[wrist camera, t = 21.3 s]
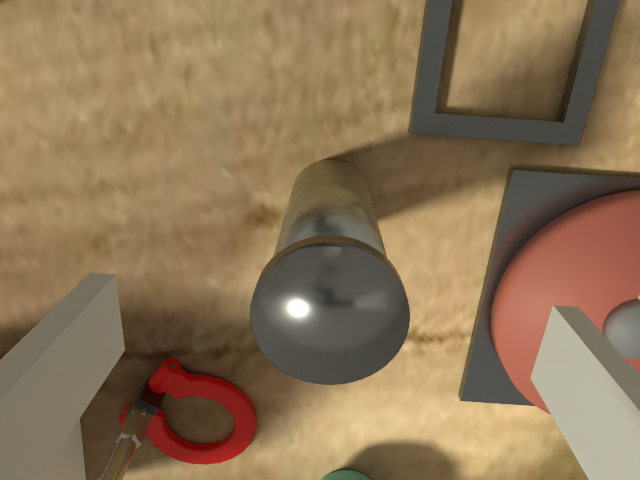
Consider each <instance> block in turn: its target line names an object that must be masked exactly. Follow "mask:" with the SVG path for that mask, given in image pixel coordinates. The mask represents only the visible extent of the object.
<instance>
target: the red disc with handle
mask: <svg viewBox="0 0 640 480" xmlns="http://www.w3.org/2000/svg"><path fill="white" fill-rule="evenodd" d="M553 305H556V306H571V307H579V308H580V309H581V310H582V311H583V313H584V314H585V315H586V316H587V317H588V318H589V319H590V320H591V321H592V322H593V324H594V325H595V326H596V327H597V328H598V329H599V330H600V331H601V332H602V333H603V335H604V336H605V337H606V338H607V339H608V340H609V341H610V342H611V343H612V344H613V346H614V347H615V348H616V349H617V350H618V351H619V352H620V353H621V354H622V356H623V357H624V358H625V359H626V360H627V361H628V362H629V363H630V364H631V365H632V367H633V368H634V369H635V370H636V371H637V372H638V373H639V374H640V190H637V191H626V192H621V193H616V194H611V195H607V196H604V197H601V198H597V199H594V200H591V201H589V202H586V203H584V204H582V205H580V206H577V207H575V208H573V209H571V210H569V211H568V212H566V213H564V214H562V215H560V216H559V217H557V218H556V219H554V220H553V221H551V222H550V223H549V224H547V225H546V226H544V227H543V228H542V229H541V230H539V231H538V232H537V233H536V234H535V235H534V236H533V237H532V238H531V239H529V240H528V241H527V243H526V244H525V245H524V246H523V247H522V248H521V249H520V250H519V252H518V253H517V254H516V255H515V257H514V258H513V260H512V261H511V263H510V264H509V265H508V267H507V269H506V271H505V272H504V274H503V276H502V278H501V280H500V282H499V285H498V288H497V290H496V293H495V296H494V300H493V305H492V310H491V333H492V339H493V343H494V347H495V350H496V352H497V354H498V356H499V359H500V361H501V363H502V365H503V366H504V368H505V370H506V372H507V374H508V376H509V377H510V379H511V380H512V382H513V383H514V385H515V387H516V388H517V389H518V390H519V391H520V392H521V394H522V395H523V396H524V397H525V398H526V399H528V400H529V401H530V402H531V403H533V404H534V405H535V406H537V407H538V408H540V409H542V410H543V411H545V412H547V413H549V414H551V413H550V412H549V410H548V408H547V406H546V405H545V403H544V401H543V399H542V398H541V396H540V394H539V392H538V391H537V389H536V387H535V386H534V384H533V382H532V380H531V379H530V378H531V375H532V371H533V368H534V365H535V362H536V359H537V355H538V352H539V349H540V346H541V342H542V339H543V336H544V333H545V330H546V326H547V323H548V320H549V317H550V313H551V310H552V307H553Z"/></svg>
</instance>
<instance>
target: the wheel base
mask: <svg viewBox="0 0 640 480" xmlns="http://www.w3.org/2000/svg"><path fill="white" fill-rule="evenodd" d="M637 190H640V177H633V176H619V175H605V174H591V173H577V172H562V171H548V170H534V169H520V168H509V173H508V177H507V182H506V186H505V191H504V195H503V199H502V204H501V208H500V213H499V217H498V222H497V226H496V231H495V235H494V239H493V244H492V248H491V253H490V257H489V262H488V266H487V271H486V275H485V279H484V284H483V288H482V293H481V297H480V302H479V306H478V311H477V315H476V319H475V324H474V328H473V333H472V337H471V342H470V346H469V350H468V355H467V359H466V364H465V368H464V373H463V377H462V382H461V386H460V390H459V398H460V401H471V402H485V403H500V404H514V405H529V406H535V405H534V404H533V403H531V402H530V401H529V400H528V399H526V398H525V397H524V396H523V395H522V394H521V392H520V391H519V390H518V389H517V388H516V387H515V385H514V383H513V382H512V380H511V379H510V377H509V376H508V374H507V372H506V370H505V368H504V366H503V365H502V363H501V361H500V359H499V356H498V354H497V352H496V350H495V347H494V343H493V339H492V333H491V310H492V305H493V300H494V296H495V293H496V290H497V288H498V285H499V282H500V280H501V278H502V276H503V274H504V272H505V271H506V269H507V267H508V265H509V264H510V263H511V261H512V260H513V258H514V257H515V255H516V254H517V253H518V252H519V250H520V249H521V248H522V247H523V246H524V245H525V244H526V243H527V241H528V240H529V239H531V238H532V237H533V236H534V235H535V234H536V233H537V232H538V231H539V230H541V229H542V228H543V227H544V226H546V225H547V224H549V223H550V222H551V221H553V220H554V219H556V218H557V217H559V216H560V215H562V214H564V213H566V212H568V211H569V210H571V209H573V208H575V207H577V206H580V205H582V204H584V203H586V202H589V201H591V200H594V199H597V198H601V197H604V196H607V195H611V194H616V193H621V192H626V191H637Z"/></svg>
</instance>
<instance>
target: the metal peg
mask: <svg viewBox="0 0 640 480" xmlns="http://www.w3.org/2000/svg"><path fill="white" fill-rule="evenodd" d="M409 322H410V310H409V304H408V299H407V296H406V293H405V289H404V286H403V283H402V281H401V278H400V276H399V274H398V272H397V270H396V269H395V267H394V266H393V265H392V263H391V262H390V261H389V260H388V259H387V256H386V252H385V248H384V245H383V241H382V237H381V233H380V230H379V226H378V222H377V218H376V215H375V211H374V207H373V203H372V200H371V196H370V192H369V188H368V185H367V182H366V180H365V178H364V177H363V175H362V174H361V173H360V172H359V171H358V170H357V169H356V168H355V167H353V166H352V165H350V164H348V163H346V162H344V161H340V160H334V159H327V160H321V161H318V162H315V163H313V164H311V165H309V166H308V167H306V168H305V169H304V170H303V171H302V172H301V173H300V174H299V176H298V177H297V179H296V180H295V183H294V185H293V189H292V192H291V196H290V199H289V203H288V207H287V210H286V214H285V217H284V221H283V224H282V228H281V231H280V235H279V239H278V242H277V246H276V249H275V253H274V256H273V258H272V259H271V260H270V261H269V263H268V264H267V265H266V266H265V268H264V270H263V271H262V273H261V275H260V277H259V280H258V282H257V285H256V288H255V291H254V294H253V298H252V302H251V307H250V324H251V329H252V333H253V336H254V338H255V341H256V343H257V345H258V346H259V348H260V350H261V351H262V352H263V354H264V355H265V356H266V357H267V358H268V360H269V361H270V362H271V363H273V364H274V365H275V366H276V367H277V368H279V369H280V370H282V371H283V372H285V373H287V374H288V375H291V376H293V377H295V378H297V379H300V380H303V381H306V382H311V383H316V384H324V385H336V384H345V383H350V382H354V381H358V380H361V379H363V378H366V377H368V376H370V375H372V374H374V373H376V372H377V371H379V370H380V369H382V368H383V367H384V366H386V365H387V364H388V363H389V362H390V361H391V360H392V359H393V358H394V357H395V355H396V354H397V353H398V352H399V350H400V348H401V347H402V345H403V343H404V341H405V338H406V336H407V333H408V329H409Z"/></svg>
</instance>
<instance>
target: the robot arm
mask: <svg viewBox="0 0 640 480" xmlns="http://www.w3.org/2000/svg"><path fill="white" fill-rule="evenodd" d="M124 351H125V346H124V338H123V330H122V322H121V314H120V306H119V298H118V290H117V282H116V275H114V274H100V273H89V274H88V275H87V276H86V277H85V278H84V279H83V280H82V281H81V282H80V283H79V284H78V285H77V286H76V287H75V288H74V289H73V290H72V291H71V292H70V293H69V294H68V295H67V296H66V297H65V298H64V299H62V300H61V301H60V302H59V303H58V304H57V305H56V306H55V307H54V308H53V309H52V310H51V311H50V312H49V313H48V314H47V315H46V316H45V317H44V318H43V319H42V320H41V321H40V322H39V323H38V324H37V325H36V326H35V327H34V328H33V329H32V330H31V331H30V332H29V333H28V334H26V335H25V336H24V337H23V338H22V339H21V340H20V341H19V342H18V343H17V344H16V345H15V346H14V347H13V348H12V349H11V350H10V351H9V352H8V353H7V354H6V355H5V356H4V357H3V358H2V359H1V360H0V480H39V479H40V478H41V476H42V475H43V473H44V472H45V470H46V469H47V467H48V466H49V464H50V463H51V461H52V460H53V458H54V456H55V455H56V453H57V452H58V450H59V449H60V447H61V446H62V444H63V443H64V441H65V440H66V438H67V437H68V435H69V434H70V432H71V431H72V429H73V428H74V426H75V425H76V423H77V422H78V420H79V419H80V417H81V416H82V414H83V413H84V411H85V410H86V408H87V407H88V405H89V404H90V402H91V401H92V399H93V398H94V396H95V395H96V393H97V392H98V390H99V389H100V387H101V386H102V384H103V383H104V381H105V380H106V378H107V377H108V375H109V374H110V372H111V371H112V369H113V368H114V366H115V364H116V363H117V361H118V360H119V358H120V357H121V355H122V354H123V352H124ZM530 379H531V380H532V382H533V384H534V386H535V387H536V389H537V391H538V392H539V394H540V396H541V398H542V399H543V401H544V403H545V405H546V406H547V408H548V410H549V412H550V413H551V415H552V417H553V418H554V420H555V422H556V424H557V425H558V427H559V429H560V431H561V432H562V434H563V436H564V438H565V439H566V441H567V443H568V444H569V446H570V448H571V450H572V451H573V453H574V455H575V457H576V458H577V460H578V462H579V463H580V465H581V467H582V469H583V470H584V472H585V474H586V476H587V477H588V479H589V480H640V374H639V373H638V372H637V371H636V370H635V369H634V368H633V367H632V365H631V364H630V363H629V362H628V361H627V360H626V359H625V358H624V357H623V356H622V354H621V353H620V352H619V351H618V350H617V349H616V348H615V347H614V346H613V344H612V343H611V342H610V341H609V340H608V339H607V338H606V337H605V336H604V335H603V333H602V332H601V331H600V330H599V329H598V328H597V327H596V326H595V325H594V324H593V322H592V321H591V320H590V319H589V318H588V317H587V316H586V315H585V314H584V313H583V311H582V310H581V309H580V308H579V307H571V306H556V305H553V307H552V310H551V313H550V317H549V320H548V323H547V326H546V330H545V333H544V336H543V339H542V342H541V346H540V349H539V352H538V355H537V359H536V362H535V365H534V368H533V371H532V375H531V378H530Z"/></svg>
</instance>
